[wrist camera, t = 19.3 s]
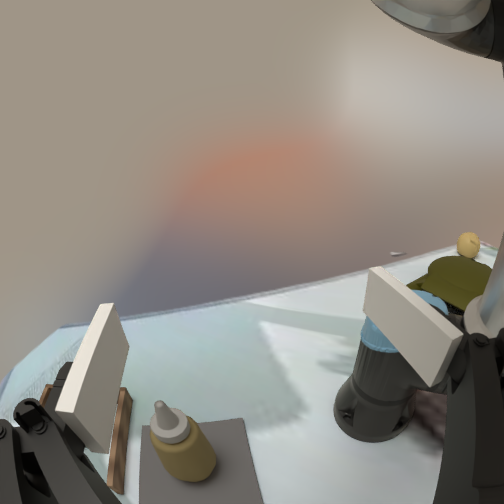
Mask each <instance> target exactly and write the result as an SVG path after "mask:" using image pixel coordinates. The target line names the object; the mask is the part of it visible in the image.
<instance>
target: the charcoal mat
mask: <svg viewBox="0 0 504 504" xmlns="http://www.w3.org/2000/svg"><path fill="white" fill-rule="evenodd" d="M197 424H198V426H199V427H200V429H201V430H202V432H203V434H204V435H205V437H206V438H207V440H208V441H209V443H210V444H211V446H212V447H213V449H214V452H215V454H216V465H215V467H214V468H213V470H212V472H211V474H210V475H209V477H207V478H206V479H204V480H202V481H198V482H189V481H183V480H179V479H177V478H175V477H173V476H171V475H170V474H169V473H168V472H167V471H166V469H165V468H164V466H163V464H162V463H161V461H160V459H159V457H158V455H157V453H156V451H155V449H154V447H153V445H152V443H151V439H150V435H149V434H150V430H151V427H150V426H142V437H141V452H140V475H139V504H263V502H262V498H261V494H260V491H259V487H258V483H257V479H256V475H255V470H254V466H253V462H252V458H251V454H250V449H249V445H248V441H247V436H246V432H245V427H244V423H243V418H237V419H230V420H223V421H214V422H205V423H197Z"/></svg>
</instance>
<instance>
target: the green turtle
mask: <svg viewBox="0 0 504 504" xmlns="http://www.w3.org/2000/svg"><path fill="white" fill-rule="evenodd" d="M491 272H492V269H491V268H490V267H489V266H487V265H486V264H481V263H479V262H476V261H475V260H474V259H471V258H467V257H462V256H446V257H441V258H439V259H436V260H435V261H433V262H432V263H431V264H430V266H429V267H428V273H427V274H426V275H424V276H422V277H420V278H418V279H417V280H415V281H413V282H411V283H409V284H407V285H406V286H407V287H408V288H409V289H411V290H420V291H422V290H424V291H426V292H428V293H431V294H433V295H434V296H435V297H439V298H440V299H441V300H443V301H445V302H447V303H448V304H450V305H452V306H454V307H456V308H458V309H459V310H461V311H463V312H465V310H466V308H467V306H468V304H469V303H470V302H471V301H472V300H473V299H474V298H476V297H478V296H480V295H483V293H484V290H485V288H486V285H487V283H488V280H489V277H490V275H491Z"/></svg>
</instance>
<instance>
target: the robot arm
mask: <svg viewBox="0 0 504 504" xmlns="http://www.w3.org/2000/svg"><path fill="white" fill-rule="evenodd" d="M371 1H372V2H373V3H374V4H375V5H376V6H377V7H378V8H379V9H381V10H382V11H383V12H384V13H385V14H387V15H388V16H389V17H391V18H392V19H393V20H395V21H397V22H399V23H400V24H402V25H403V26H405V27H407V28H409V29H411V30H413V31H414V32H416V33H419V34H421V35H423V36H426V37H427V38H430V39H432V40H434V41H436V42H438V43H441V44H443V45H446V46H448V47H451V48H453V49H457V50H460V51H463V52H466V53H469V54H472V55H476V56H480V57H484V58H488V59H493V60H496V61H499V62H501V63H502V67H503V76H504V0H371ZM363 312H364V313H365V314H366V315H367V316H366V320H365V323H364V326H363V327H362V330H361V341H360V346H359V350H358V354H357V358H356V362H355V366H354V370H353V373H352V375H351V376H350V377H349V378H348V379H347V381H346V382H345V383H344V384H343V385H342V387H341V388H340V389H339V391H338V393H337V396H336V399H335V403H334V416H335V419H336V422H337V424H338V425H339V427H340V428H341V429H342V430H343V431H344V432H345V433H346V434H348V435H349V436H351V437H353V438H355V439H357V440H360V441H365V442H381V441H386V440H389V439H391V438H393V437H395V436H397V435H398V434H399V433H401V432H402V431H403V430H404V429H405V427H406V426H407V424H408V423H409V421H410V419H411V418H412V415H413V413H414V408H415V396H416V390H417V389H419V390H424V391H429V392H434V393H439V394H444V395H447V415H446V429H445V439H444V448H443V455H442V462H441V468H440V474H439V479H438V484H437V488H436V493H435V497H434V501H433V504H504V233H503V236H502V240H501V244H500V247H499V250H498V254H497V257H496V260H495V263H494V266H493V269H492V272H491V275H490V277H489V280H488V283H487V285H486V288H485V290H484V293H483V295H480V296H478V297H476V298H474V299H473V300H472V301H471V302H470V303H469V304H468V306H467V308H466V310H465V312H464V314H463V316H461V315H456V314H450V313H448V309H447V306H446V304H445V303H444V302H443V301H442V300H441V299H440V298H439V297H433V294H431V293H428V292H425V291H420V290H411V289H409V288H408V287H407V286H405V285H404V284H403V283H402V282H400V281H399V280H398V279H396V278H395V277H394V276H393V275H391V274H390V273H389V272H387V271H386V270H385V269H383V268H382V267H381V266H379V267H373V268H369V273H368V281H367V288H366V294H365V300H364V306H363ZM129 347H130V346H129V344H128V341H127V339H126V336H125V333H124V331H123V328H122V325H121V322H120V320H119V317H118V314H117V311H116V308H115V305H114V303H110V304H100V306H99V308H98V310H97V312H96V314H95V316H94V318H93V320H92V322H91V324H90V326H89V328H88V330H87V333H86V335H85V337H84V339H83V341H82V343H81V346H80V348H79V350H78V352H77V355H76V357H75V359H74V362H66V363H65V364H64V365H63V366H62V368H61V369H60V370H59V372H58V374H57V377H56V380H55V382H54V384H53V388H52V389H51V391H50V394H49V396H48V399H47V401H46V404H45V407H44V408H43V407H42V405H41V404H40V403H39V401H38V400H36V399H34V398H27V399H24V400H22V401H21V402H20V403H18V405H17V406H16V407H15V410H14V413H13V417H14V420H15V421H16V422H17V423H18V424H19V425H20V427H13V426H12V425H11V424H10V423H9V421H7V420H5V419H0V504H122V503H121V502H120V501H119V500H118V499H117V497H116V496H115V495H114V494H113V492H112V491H111V490H110V488H109V487H108V486H107V484H106V483H105V482H104V480H103V479H102V478H101V476H100V475H99V473H98V472H97V471H96V469H95V468H94V466H93V465H92V463H91V462H90V460H89V459H88V457H87V456H86V455H85V454H84V446H86V447H87V448H88V449H89V450H90V451H91V452H95V453H104V454H109V448H110V441H111V434H112V428H113V422H114V416H115V411H116V405H117V400H118V395H119V390H120V385H121V381H122V376H123V372H124V367H125V363H126V359H127V355H128V351H129Z"/></svg>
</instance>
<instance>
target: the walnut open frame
mask: <svg viewBox="0 0 504 504" xmlns="http://www.w3.org/2000/svg"><path fill="white" fill-rule="evenodd" d="M52 388H53V385H51V384H46V386H45V388H44V391H43V393H42V396H41V398H40V400H39V403H40V404H41V405H42V407H43V408H44V407H45V404H46V401H47V399H48V396H49V394H50V391H51V389H52ZM132 401H133V400H132V398H131V396H130V394H129V393H128V391H127V389H126V387H120V390H119V395H118V400H117V404H118V406H117V411H116V417H115V423H114V429H113V435H112V442H111V450H110V457H109V466H108V476H107V486H108V487H109V488H110V489H112V490H113V491H115V492H116V493H117V494H123V495H124V475H125V461H126V450H127V440H128V431H129V423H130V415H131V408H132Z"/></svg>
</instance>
